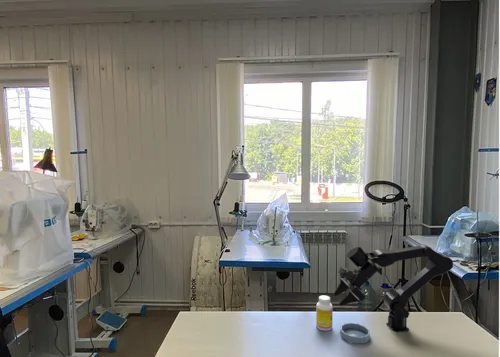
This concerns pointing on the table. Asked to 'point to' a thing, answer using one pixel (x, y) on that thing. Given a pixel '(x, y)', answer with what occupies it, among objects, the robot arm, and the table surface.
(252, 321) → the table surface
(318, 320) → the supplement bottle
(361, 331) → the round tray
